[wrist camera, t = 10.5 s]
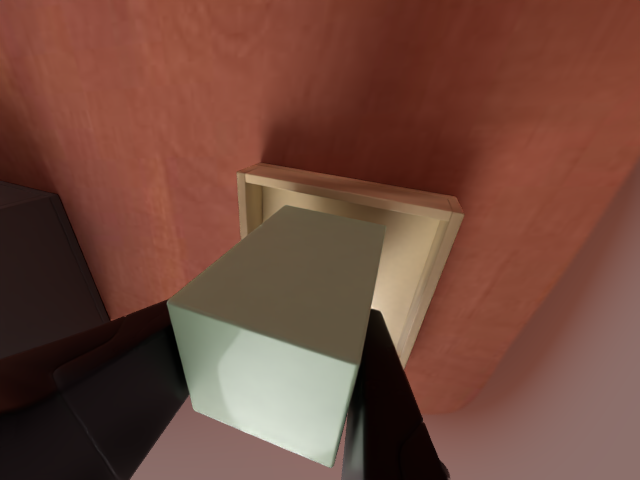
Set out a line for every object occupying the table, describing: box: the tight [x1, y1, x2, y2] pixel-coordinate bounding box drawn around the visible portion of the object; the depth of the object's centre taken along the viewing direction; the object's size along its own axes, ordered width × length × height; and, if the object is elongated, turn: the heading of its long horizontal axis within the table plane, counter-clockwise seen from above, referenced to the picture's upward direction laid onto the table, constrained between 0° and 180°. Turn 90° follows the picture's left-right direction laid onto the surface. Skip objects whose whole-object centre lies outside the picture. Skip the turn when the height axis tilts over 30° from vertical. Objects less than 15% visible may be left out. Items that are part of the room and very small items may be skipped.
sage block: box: [167, 205, 386, 468], centre depth 8 cm, size 4×4×6 cm
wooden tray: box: [237, 163, 465, 369], centre depth 13 cm, size 9×11×2 cm
